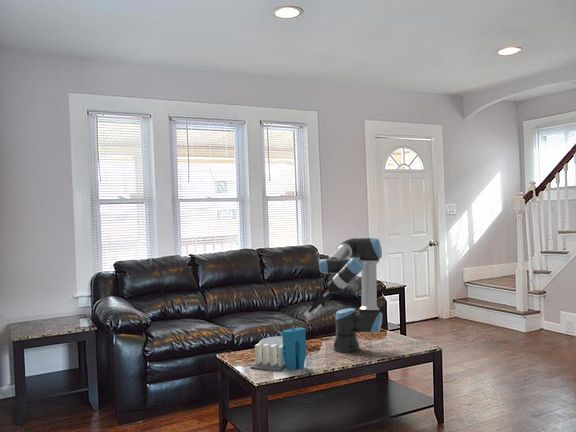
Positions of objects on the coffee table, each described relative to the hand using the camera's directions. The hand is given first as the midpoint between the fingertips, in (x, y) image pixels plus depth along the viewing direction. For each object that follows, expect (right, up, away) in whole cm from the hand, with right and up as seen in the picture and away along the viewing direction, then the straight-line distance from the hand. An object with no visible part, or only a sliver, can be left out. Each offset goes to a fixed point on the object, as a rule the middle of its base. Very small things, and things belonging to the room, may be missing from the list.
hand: (308, 313), depth 263 cm
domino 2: (-22, -28, +10) cm, 38 cm away
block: (-7, -29, +4) cm, 30 cm away
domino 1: (-26, -29, +12) cm, 41 cm away
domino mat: (-20, -29, +9) cm, 36 cm away
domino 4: (-14, -28, +7) cm, 32 cm away
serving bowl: (-17, -29, +34) cm, 48 cm away
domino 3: (-18, -28, +9) cm, 35 cm away
